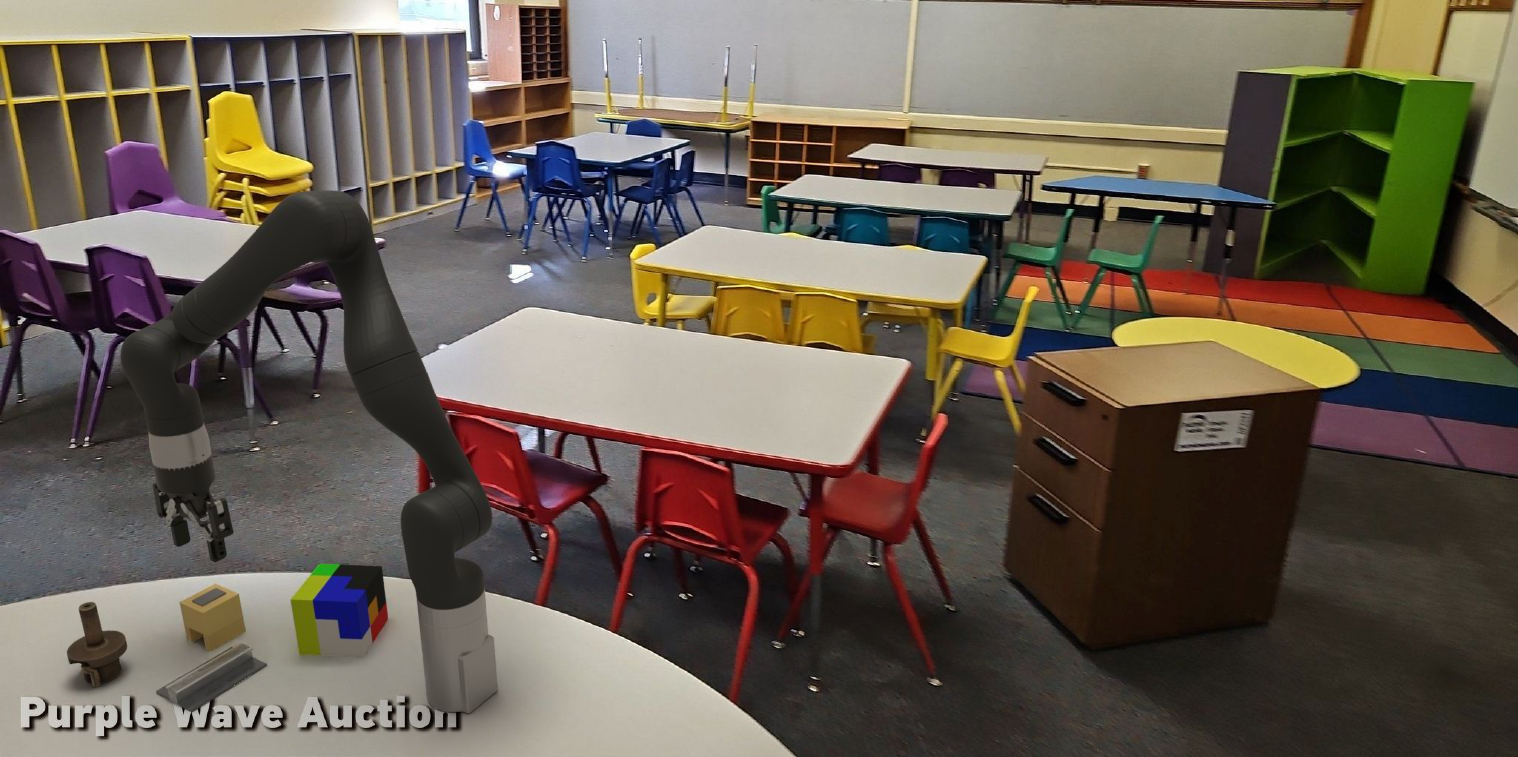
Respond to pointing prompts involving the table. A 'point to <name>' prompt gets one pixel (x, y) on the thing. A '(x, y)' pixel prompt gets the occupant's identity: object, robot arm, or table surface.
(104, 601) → the table surface
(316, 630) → the puzzle toy
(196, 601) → the block
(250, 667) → the rail
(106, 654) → the industrial component
